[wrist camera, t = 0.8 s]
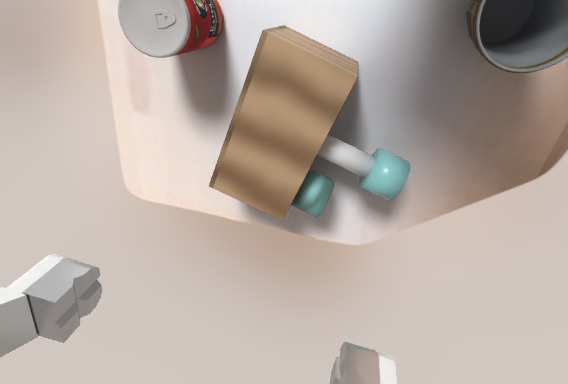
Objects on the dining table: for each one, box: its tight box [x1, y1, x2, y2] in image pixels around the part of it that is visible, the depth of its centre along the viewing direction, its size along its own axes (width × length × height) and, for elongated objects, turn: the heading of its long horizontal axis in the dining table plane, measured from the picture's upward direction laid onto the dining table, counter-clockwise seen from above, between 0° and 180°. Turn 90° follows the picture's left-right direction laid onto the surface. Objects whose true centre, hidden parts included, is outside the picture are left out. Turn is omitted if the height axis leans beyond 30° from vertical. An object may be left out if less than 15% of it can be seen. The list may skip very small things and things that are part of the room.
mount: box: [209, 26, 358, 220], centre depth 43 cm, size 20×15×11 cm
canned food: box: [118, 0, 223, 58], centre depth 40 cm, size 8×8×11 cm
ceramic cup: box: [466, 0, 568, 73], centre depth 34 cm, size 13×10×10 cm
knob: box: [317, 134, 410, 200], centre depth 43 cm, size 6×14×6 cm, turn 67°
